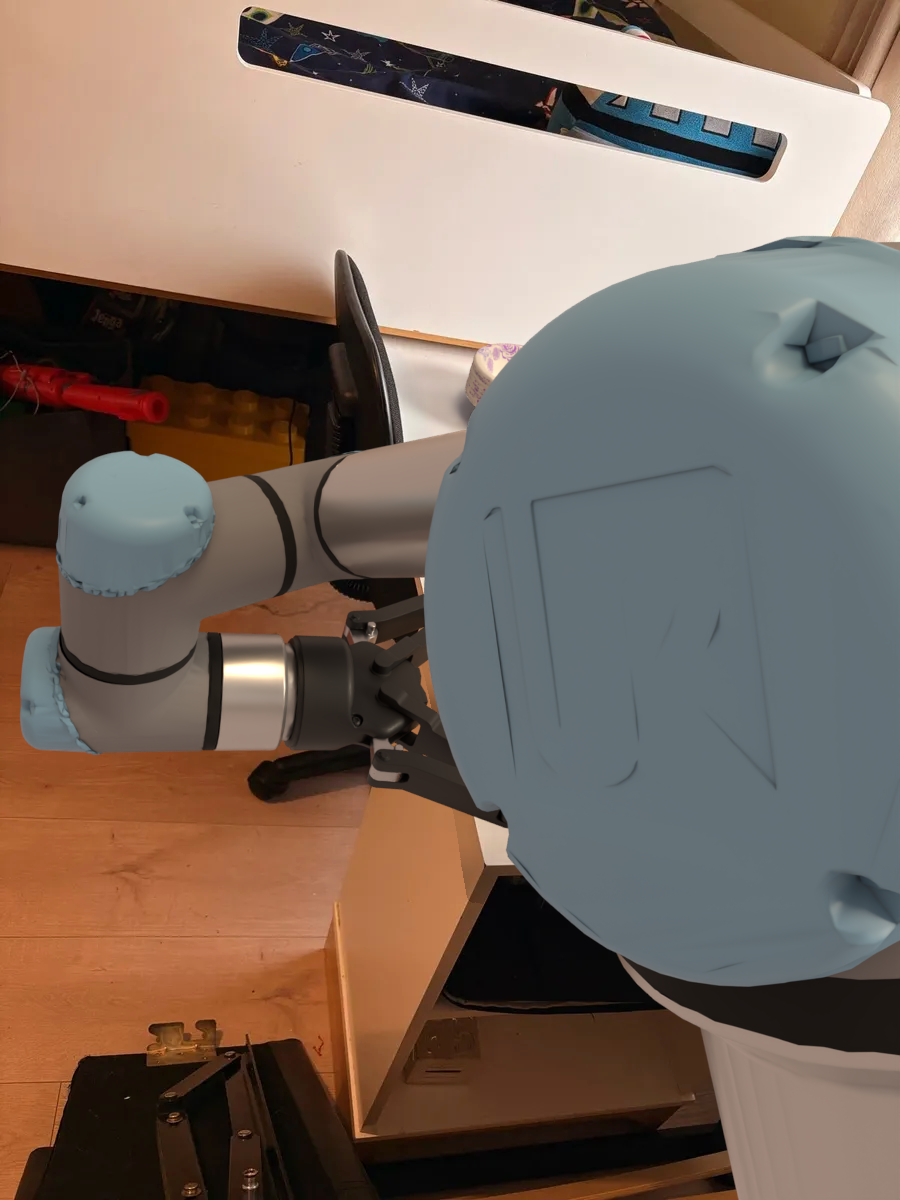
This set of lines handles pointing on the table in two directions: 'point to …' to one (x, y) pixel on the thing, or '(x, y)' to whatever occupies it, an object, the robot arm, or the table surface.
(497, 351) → the paper bowls
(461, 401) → the table surface
